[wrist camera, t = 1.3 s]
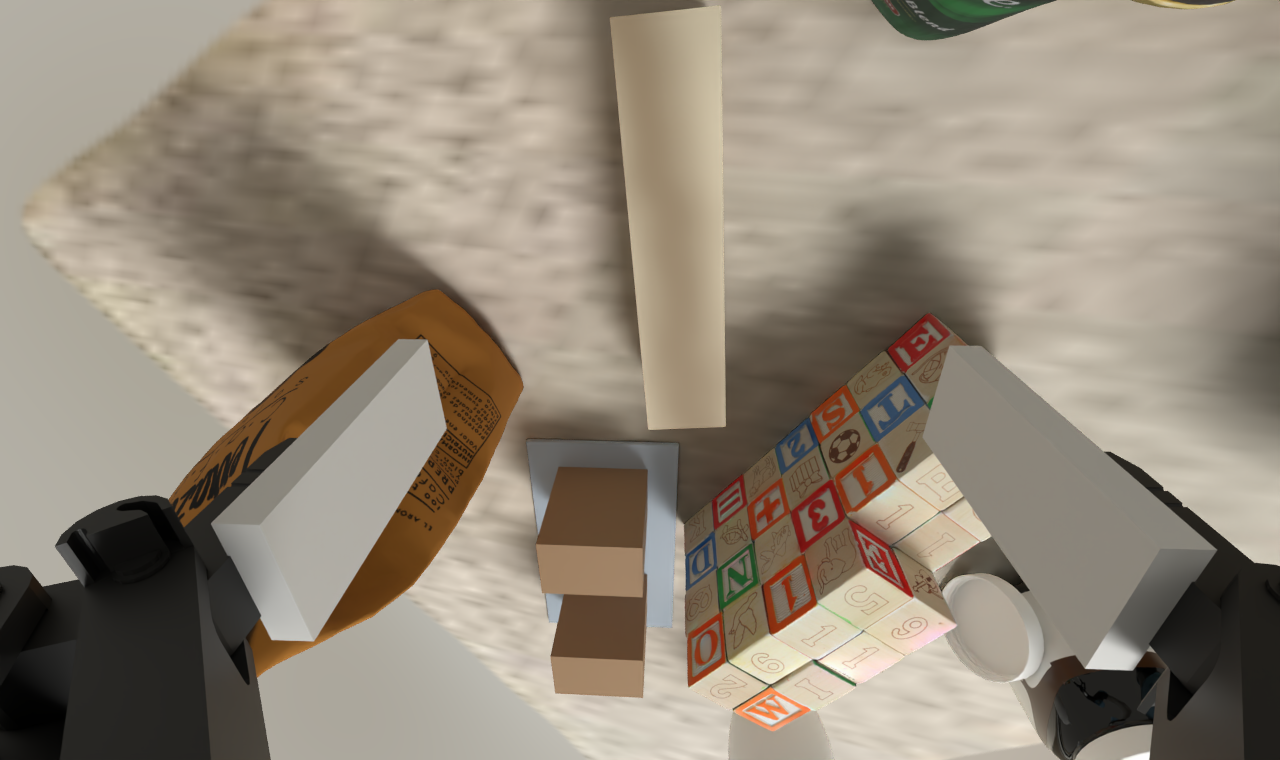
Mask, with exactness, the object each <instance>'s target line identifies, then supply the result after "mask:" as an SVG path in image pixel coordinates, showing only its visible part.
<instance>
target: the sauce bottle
mask: <svg viewBox="0 0 1280 760" xmlns="http://www.w3.org/2000/svg"><path fill="white" fill-rule="evenodd" d="M728 753H729V760H834V757H833V753H832V749H831V745H830V742H829V739H828V736H827V734H826V731H825V728H824V726H823V723H822V721H821V719H820V717H819V715H818V713H817V711H813V710H811V711H809V712H807V713H806V714H804V715H802V716H801V717H799V718H797V719H795V720H793V721H791V722H790V723H788V724H786V725H784V726H783V727H781V728H779V729H777V730H776V731H770V730H768V729H766V728H764V727H762V726H760V725H758V724H756V723H754V722H752V721H750V720H748V719H746V718H744V717H742V716H740V715H738V714H736V713H735V712H734V711H733V714H732V718H731V724H730V730H729V743H728Z"/></svg>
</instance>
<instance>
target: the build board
mask: <svg viewBox="0 0 1280 760" xmlns="http://www.w3.org/2000/svg"><path fill="white" fill-rule="evenodd" d="M526 445H527V452H528V460H529V468H530V476H531V484H532V491H533V499H534V507H535V515H536V523H537V530H538V538H537V542H536V550H537V558H538V565H539V573H540V580H541V588H542V593H546V601H547V608H548V616H549V622H554V623H558V624H557V629H556V633H555V638H554V643H553V647H552V652H551V663H552V671H553V679H554V686H555V693H560V694H580V695H599V696H619V697H639V698H643V686H644V665H645V645H646V627H667V628H672V612H673V585H674V557H675V530H676V503H677V476H678V449H679V443H659V442H624V441H588V440H552V439H527V440H526Z"/></svg>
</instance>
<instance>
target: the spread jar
mask: <svg viewBox="0 0 1280 760" xmlns="http://www.w3.org/2000/svg"><path fill="white" fill-rule="evenodd" d="M942 594H943V596H944V598H945V600H946V602H947V604H948V606H949V608H950V610H951V613H952V615H953V617H954V619H955V620H956V622H957V624H958V625H957V626H956V627H955V628H954V629H952V630H950V631H948V632H947V633H945V634H944V635H945V637H946V639H947V641H948V643H949V645H950V647H951V648H952V650H953V652H954V653H955V654H956V656H957V657H958V658H959V660H960V661H961V662H962V663H963V664H964V665H965V666H966V667H967V668H968V669H969V670H971V671H972V672H973V673H975V674H976V675H978V676H980V677H982V678H983V679H985V680H988V681H991V682H995V683H1007V682H1009V684H1010V686H1011V688H1012V690H1013V692H1014V693H1015V695H1016V697H1017V699H1018V701H1019V702H1020V704H1021V706H1022V708H1023V710H1024V711H1025V713H1026V715H1027V717H1028V719H1029V720H1030V722H1031V724H1032V726H1033V727H1034V729H1035V731H1036V732H1037V734H1038V735H1039V737H1040V738H1041V740H1042V741H1043V743H1044V744H1045V745H1046V747H1047V748H1048V749H1049V750H1050V751H1051V752H1052V753H1053V754H1054V755H1055V756H1056V757H1057V758H1059V759H1060V760H1149V757H1150V748H1151V738H1152V729H1153V719H1154V710H1155V706H1152V707H1151V708H1150V709H1149V710H1148V712H1147V713H1146V714H1143V713H1141V712H1139V711H1137V708H1138V707H1139V705H1140V703H1141V701H1142V700H1143V699H1144V697H1145V696H1146V695H1147V693H1148V692H1149V691H1150V689H1151V688H1152V687H1153V685H1154V684H1155V683H1156V681H1157V680H1158V679H1159V677H1160V676H1161V675H1162V673H1163V672H1164V671H1165V669H1166V668H1167V667H1168V666H1167V665H1166V664H1165V663H1164V662H1163V661H1162V659H1161V658H1160V657H1159V656H1158V655H1157V653H1156V652H1155V651H1154V650H1153V649H1152V647H1151V646H1150V647H1149V648H1148V650H1147V651H1146V653H1145V654H1144V655H1143V657H1142V658H1141V660H1140V661H1139V663H1138V664H1137V665H1136V667H1135V668H1134V670H1104V669H1085V668H1084V667H1083V665H1082V664H1081V662H1080V661H1079V660H1078V658H1077V657H1076V655H1075V654H1074V652H1073V651H1072V650H1071V648H1070V647H1069V645H1068V644H1067V643H1066V641H1065V640H1064V638H1063V637H1062V635H1061V634H1060V633H1059V631H1058V630H1057V628H1056V627H1055V625H1054V624H1053V623H1052V621H1051V620H1050V618H1049V617H1048V615H1047V614H1046V613H1045V611H1044V610H1043V608H1042V607H1041V606H1040V604H1039V603H1038V601H1037V600H1036V598H1035V597H1034V596H1033V594H1032V593H1031V591H1030V590H1029V588H1028V587H1027V586H1026V584H1025V583H1024V582H1023V583H1020V584H1018V585H1016V586H1014V587H1013V586H1012V585H1011V584H1009V583H1008V582H1007V581H1005V580H1003V579H1001V578H999V577H997V576H994V575H991V574H985V573H977V574H968V575H961V576H958V577H955V578H953V579H952V580H951V581H950V582H948V583H947V585H946V586H945V588H944V589H943V591H942Z"/></svg>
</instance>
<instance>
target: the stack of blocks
mask: <svg viewBox="0 0 1280 760" xmlns="http://www.w3.org/2000/svg"><path fill="white" fill-rule="evenodd" d="M949 345H954V346H968V345H967V344H966V343H965V342H964V341H963V340H962V339H961V338H960V337H959V336H957V335H956V334H955V333H954V332H953V331H952V330H951V329H950V328H948V327H947V326H946V325H945V324H944V323H943V322H941V321H940V320H939V319H938V318H936V317H935V316H934V315H932V314H931V313H927V314H926V315H925V316H924V317H923V318H922V319H921V320H920V321H918V322H917V323H916V324H915V325H914V326H913V327H912V328H911V329H910V330H908V331H907V332H906V333H905V334H904V335H903V336H902V337H901V338H899V339H898V340H897V341H896V342H895V343H894V344H893V345H892V346H890V347H889V348H888V350H887V351H883V352H881V353H880V354H879V355H878V356H877V357H876V358H874V359H873V360H872V361H871V362H870V363H869V364H867V365H866V366H865V367H864V368H863V369H862V370H861V371H859V372H858V373H857V374H856V375H855V376H854V377H853V378H852V379H851V380H850V381H849V382H848V383H847V384H846V385H844V386H843V387H841V388H840V389H839V390H838V391H837V392H835V393H834V394H833V395H832V396H831V397H830V398H828V399H827V400H826V401H825V402H824V403H822V404H821V405H820V406H819V407H818V408H817V409H816V410H815V411H813V412H812V413H811V414H810V417H809V418H807V419H806V420H805V421H803V422H802V423H801V424H800V425H799V426H798V427H797V428H795V429H794V430H793V431H792V432H791V433H790V434H789V435H787V436H786V437H785V438H784V439H783V440H782V441H781V442H779V443H778V444H777V445H776V447H775V448H773V449H772V450H771V451H769V452H768V453H767V454H766V455H765V456H764V457H763V458H762V459H760V460H759V461H758V462H757V463H756V464H755V465H754V466H752V467H751V468H750V469H749V470H748V471H747V472H746V473H745V474H743V475H741V476H739V477H738V478H737V479H736V480H735V481H734V482H732V483H731V484H730V485H729V486H728V487H727V488H726V489H724V490H723V491H722V492H721V493H720V494H719V495H718V496H716V497H715V498H714V499H713V500H712V501H711V502H709V503H708V504H707V505H706V506H704V507H703V508H702V509H701V510H700V511H699V512H698V513H696V514H695V515H694V516H693V517H692V518H691V519H689V520H688V521H687V522H686V523H685V525H684V536H685V543H684V544H685V556H686V559H685V567H686V595H685V634H686V637H687V638H688V640H687V661H688V687H689V689H691V690H693V691H695V692H696V693H698V694H700V695H702V696H704V697H706V698H708V699H710V700H711V701H713V702H715V703H717V704H719V705H720V706H722V707H724V708H725V709H727V710H731V709H733V711H734V712H735V713H736V714H738V715H740V716H742V717H744V718H746V719H748V720H750V721H752V722H754V723H756V724H758V725H760V726H762V727H764V728H766V729H768V730H770V731H776V730H777V729H779V728H781V727H783V726H784V725H786V724H788V723H790V722H791V721H793V720H795V719H797V718H799V717H801V716H802V715H804V714H806V713H807V712H809V711H811V710H813V711H817V710H819V709H821V708H823V707H824V706H826V705H828V704H830V703H831V702H833V701H835V700H837V699H838V698H840V697H842V696H843V695H845V694H847V693H849V692H850V691H852V690H854V689H855V688H856V684H857V683H859V684H861V683H864V682H866V681H867V680H869V679H871V678H872V677H874V676H875V675H877V674H879V673H881V672H883V671H884V670H886V669H887V668H889V667H890V666H892V665H894V664H896V663H897V662H899V661H901V660H902V659H903V658H904V656H905V655H909V654H911V653H913V652H915V651H916V650H918V649H920V648H921V647H923V646H925V645H926V644H928V643H930V642H931V641H933V640H935V639H937V638H938V637H940V636H942V635H943V634H945V633H947V632H948V631H950V630H952V629H954V628H955V627H956V626H957V625H958V624H957V622H956V620H955V619H954V617H953V615H952V613H951V610H950V608H949V606H948V604H947V602H946V600H945V598H944V596H943V594H942V592H941V590H940V588H939V586H938V584H937V582H936V580H935V577H934V575H933V572H935V571H937V570H938V569H940V568H941V567H943V566H944V565H946V564H948V563H949V562H951V561H952V560H954V559H955V558H957V557H958V556H960V555H961V554H963V553H964V552H966V551H967V550H969V549H971V548H972V547H974V546H975V545H977V544H978V543H979V542H981V541H985V540H987V539H988V538H990V537H991V534H990V533H989V531H988V530H987V529H986V527H985V526H984V524H983V523H982V521H981V520H980V519H979V517H978V516H977V514H976V513H975V512H974V510H973V509H972V507H971V506H970V504H969V503H968V502H967V500H966V499H965V497H964V496H963V494H962V493H961V492H960V490H959V489H958V487H957V486H956V484H955V483H954V482H953V480H952V479H951V477H950V476H949V475H948V473H947V472H946V470H945V469H944V467H943V466H942V465H941V463H940V462H939V460H938V459H937V457H936V456H935V455H934V453H933V452H932V450H931V449H930V447H929V446H928V445H927V443H926V442H925V440H924V439H923V433H924V430H925V426H926V423H927V420H928V416H929V413H930V409H931V406H932V403H933V399H934V396H935V393H936V389H937V386H938V382H939V379H940V376H941V372H942V369H943V366H944V362H945V359H946V355H947V352H948V349H949Z"/></svg>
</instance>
